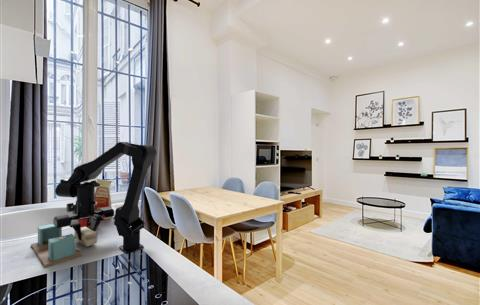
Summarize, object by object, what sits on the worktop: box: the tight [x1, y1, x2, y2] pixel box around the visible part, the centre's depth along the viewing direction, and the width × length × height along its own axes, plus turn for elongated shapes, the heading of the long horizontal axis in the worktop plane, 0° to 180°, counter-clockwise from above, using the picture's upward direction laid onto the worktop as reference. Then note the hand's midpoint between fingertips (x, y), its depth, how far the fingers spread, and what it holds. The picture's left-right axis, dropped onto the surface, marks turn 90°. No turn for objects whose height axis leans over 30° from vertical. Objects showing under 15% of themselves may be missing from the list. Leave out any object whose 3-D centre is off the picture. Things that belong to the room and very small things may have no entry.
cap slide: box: [48, 233, 76, 261], centre depth 77 cm, size 4×6×6 cm, turn 141°
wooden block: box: [74, 227, 98, 247], centre depth 88 cm, size 10×4×4 cm, turn 56°
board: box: [30, 241, 83, 268], centre depth 82 cm, size 21×10×1 cm, turn 51°
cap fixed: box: [37, 223, 63, 246], centre depth 87 cm, size 4×6×6 cm, turn 141°
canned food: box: [78, 202, 97, 229], centre depth 104 cm, size 8×8×11 cm
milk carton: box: [95, 178, 114, 220], centre depth 118 cm, size 9×9×20 cm
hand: (85, 238), depth 88 cm, fingers closed on wooden block, 4 cm apart
